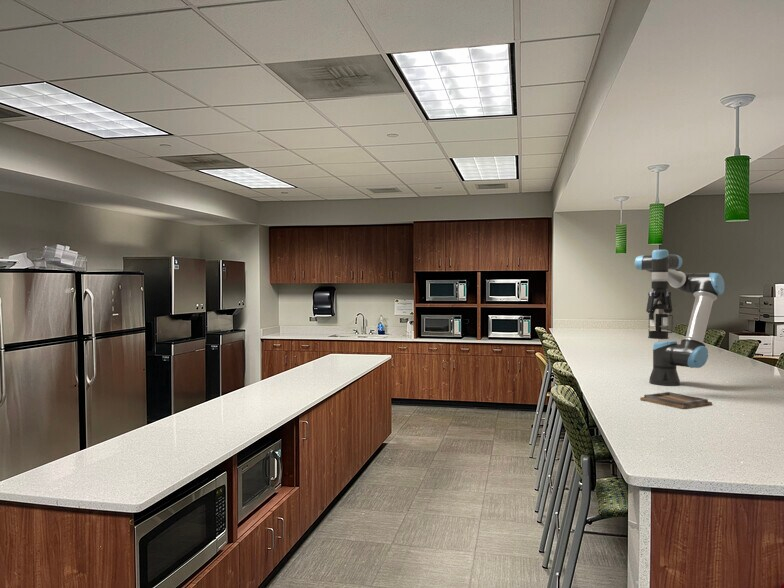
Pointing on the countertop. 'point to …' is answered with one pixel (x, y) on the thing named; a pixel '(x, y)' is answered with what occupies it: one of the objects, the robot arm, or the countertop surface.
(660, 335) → the french press
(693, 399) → the serving board
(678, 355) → the robot arm
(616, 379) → the countertop surface
